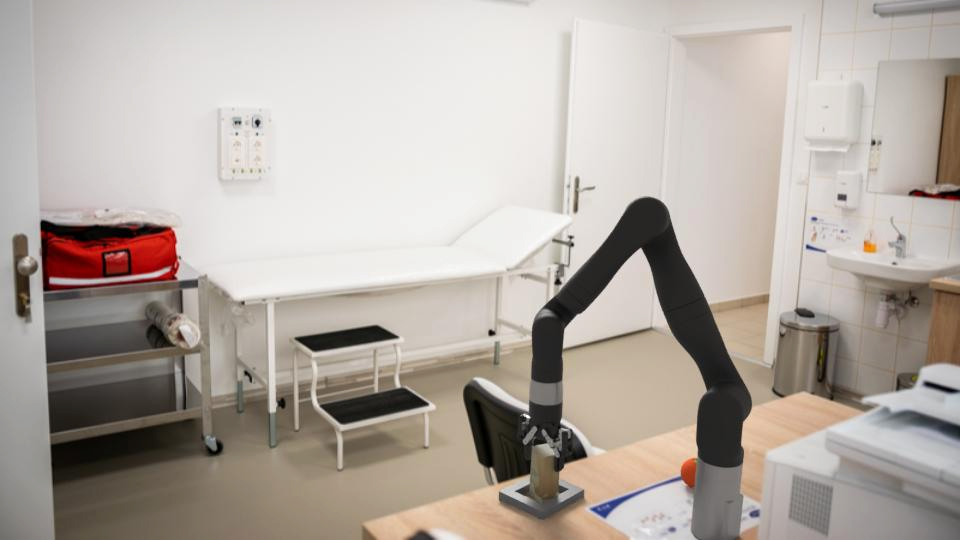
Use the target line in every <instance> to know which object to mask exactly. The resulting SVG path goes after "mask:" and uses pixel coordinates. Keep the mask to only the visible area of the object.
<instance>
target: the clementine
mask: <svg viewBox="0 0 960 540" xmlns="http://www.w3.org/2000/svg"><path fill="white" fill-rule="evenodd" d="M696 466H697V457H691V458H689V459H687V460H685V461H684V462H683V463H682V465H681V467H680V471H679V472H680V477H681V479H682V481H683V483H685V485H687V486H688V487H690V488H693V489H694V488H695V476H696Z"/></svg>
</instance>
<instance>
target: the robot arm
mask: <svg viewBox="0 0 960 540" xmlns="http://www.w3.org/2000/svg"><path fill="white" fill-rule="evenodd" d="M673 226H674V225H673V222H672V219H671V215H670V211H669V209H668V207H667V206H666V204H665V203H664V202H663V201H661V200H660V199H659V198H656V197H654V196H649V195H648V196H646V195H645V196H639V197H637V198H635V199H633V200H631V201H630V202H629V203H628V205H627V206H626V207H625V210H624V212H623V214H622V215H621V216H620V218H619V220H618V221H617V223H616V224H615V226H614V228H613V229H612V230H611V232H610V233H609V235H608V236H607V237H606V239H605V240H604V241H603V242H602V244H601V245H600V246H599V247H598V249H597V250H596V251H594V253H593V254H592V255H590V257H589V258H588V259H587V260H586V261H585V262H584V263H583V264H582V265H581V266H580V267H579V268H578V269H577V270H576V272H575V273H574V274H572V276H571V277H570V278H569V279H568V280H567V282H566V283H565V284H563V286H562V287H561V289H560V290H559V291H558V292H557V293H556V294H555V295H554V296H553V297H552V298H551V299H550V300H549V301H547V302H546V303H545V304H544V305H543V306H542V307H541V308H540V309H539V311H537V313H536V314H535V316H534V319H533V321H532V322H533V323H532V325H531V326H532V327H531V350H532V351H531V354H532V358H531V365H530V368H531V369H530V383H529V393H528V394H529V397H528V412H526V413H522V414H520V415H518V420H517V431H516V432H517V433H516V438H517V440H518V441H522V443H523V445H524V446H523V447H524V448H523V456H524V459H525V460H526V461H531V455H532V446H535V444H534V443H535V442H534V441H535V439H536V440H538V441H542V442H544V444H546V443H548V444H549V447H550V448H551V449H553V451H554V453H555V455H556V456H555V465H554V471H555V472H559V473H560V472H561V471H562V470H564V468H565V462H566V461H565V458H567V457H568V456H571V455H572V454H573V451H574V448H573V447H574V443H573V441H574V438H573V436H574V435H573V434H574V433H573V429H572V428H567V429H566V428H563V427H562V425H561V421H562V419H563V418H562V417H563V408H564V407H563V406H564V405H563V404H564V384H563V383H564V382H563V381H564V378H563V374H564V360H563V350H564V337H565V329H567V327H568V326H569V324H570V323H571V322H572V321H573V320H575V318H576V317H577V316H578V315H581V314H583V313H584V312H585V311H586V310H587V309H588V308H589V307H590V306H591V305H592V304H593V303H594V302H595V300H596V299H597V298H599V296H600V295H601V294H602V292H604V290H605V289H606V287H608V285H609V284H610V283H611V281H612V280H613V278H614V277H615V276H616V274H617V273H619V271H620V269H621V268H622V267H623V266H624V265H625V263H627V261H628V260H629V259H630V258H631V257H632V256H633V255H635V253H637V251H639V250H640V249H641V251H642V253H643V256H645V258H646V261H647V262H648V265H649V267H650V270H651V271H650V272H651V276H652V279H653V284H654V287H655V293H656V296H657V299H658V302H659V307H660V308H661V311H662V313H663V315H664V318H665V320H666V322H667V325H668V328H669V330H670V331H671V333H672V335H673V337H674V338H675V340H676V341H677V342H678V343H679V344H680V346H681V347H682V348H683V349H684V350H685V352H686V353H688V355H689V356H690V357H691V358H692V360H693V361H694V363H695V364H696V366H697V368H698V371H699V373H700V374H701V377H702V380H703V383H704V387H705V390H706V392H705V393H704V394H703V395H702V397H701V398H700V399H699V402H698V407H697V415H696V417H697V418H696V432H695V444H696V446H697V447H696V448H697V456H696V458H697V466H696V476H695V488H693V490H694V491H693V500H692V512H691V513H692V514H691V521H690V522H691V523H690V531H691V533H692V534H693V535H694V536H695V537H696V538H698V539H699V540H736V539H737V538H738V537H740V535H741V533H740V532H741V527H742V526H741V524H742V523H741V522H742V515H743V505H744V494H742V493H741V487H742V486H741V485H742V475H743V466H744V459H745V450H744V447H743V446H742V438H743V427H744V423H745V420H747V418H748V417H749V416H750V414H751V412H752V409H753V399H752V396H751V393H750V390H749V389H748V387H747V385H746V383H745V382H744V380H743V378H742V376H741V375H740V372H739V370H738V369H737V368H736V366H735V364H734V362H733V360H732V358H731V357H730V354H729V352H728V350H727V346H726V344H725V342H724V339H723V337H722V334H721V332H720V330H719V328H718V324H717V322H716V320H715V317H714V314H713V312H712V310H711V307H710V304H709V303H708V300H707V298H706V295H705V293H704V292H703V289H702V287H701V285H700V283H699V281H698V279H697V277H696V276H695V274H694V272H693V270H692V268H691V267H690V265H689V263H688V261H687V260H686V258H685V256H684V253H683V251H682V249H681V247H680V245H679V241H678V238H677V235H676V232H675V228H674V227H673ZM529 426H530V427H529ZM529 428H530V430H529ZM555 440H556V441H555ZM554 441H555V442H554Z"/></svg>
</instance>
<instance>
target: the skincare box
mask: <svg viewBox="0 0 960 540" xmlns="http://www.w3.org/2000/svg"><path fill="white" fill-rule="evenodd" d="M555 456H556V455H555V453H554V451H553V449H551V448H550V447H549V444H548V443H543V444H542V443H541V444H536V445H534V446H532V455H531V460H530V473H529V474H530V475H529V476H530V487H529V492H528V495H530V497H531V498H532V499H533V500H534V501H536V502H538V503H540V504H543V503H544V502H546V501H548V500H550V499H552V498H554V497H556V496H557V495H559V492H558V485H559V479H560V472H555V471H554V465H555Z"/></svg>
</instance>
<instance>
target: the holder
mask: <svg viewBox="0 0 960 540" xmlns="http://www.w3.org/2000/svg"><path fill="white" fill-rule="evenodd" d="M529 487H530V475H529V476H527V477H525V478H523V479H521V480H519V481H517V482H514V483H513V484H511V485H509V486H507V487H505V488H503V489H500V490H499V491H498V500H500V501H502V502H504V503H506V504H508V505H510V506H512V507H514V508H516V509H518V510H520V511H521V512H522V511H523V512H525V513H526V514H528V515H530V516H532V517H535V518H537V519H539V520H541V521H545V520H546V519H549V518H550V517H551V516H554V515H555V514H558V513H559V512H561V511H563V510H564V509H565V508H568V507H570V506H571V505H573V504H575V503H576V501H577V502H578V501H580V500H581V498H582V499H583V497H584V498H585V489H584V488H583V487H580V486H578V485H576V484H573V483H570V482H568V481H566V480H564V479H561V478H559V485H558V495H557V496H556V497H554V498H552V499H550V500H548V501H546V502H544V503H543V504H540V503H538V502H537V501H536V500H535V499H533V498H530V497H528V496H526V494H527V492H528V493H529ZM525 493H526V494H525ZM523 494H524V495H523Z"/></svg>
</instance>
